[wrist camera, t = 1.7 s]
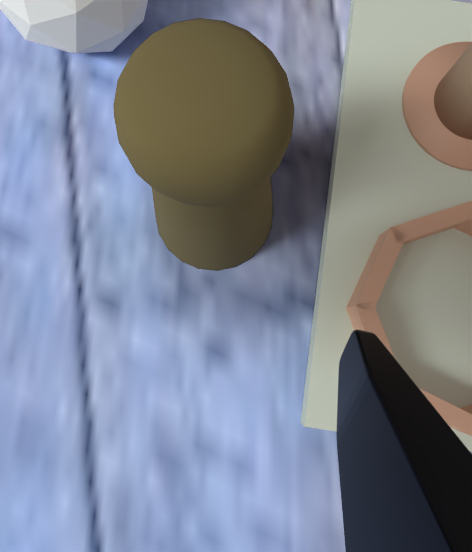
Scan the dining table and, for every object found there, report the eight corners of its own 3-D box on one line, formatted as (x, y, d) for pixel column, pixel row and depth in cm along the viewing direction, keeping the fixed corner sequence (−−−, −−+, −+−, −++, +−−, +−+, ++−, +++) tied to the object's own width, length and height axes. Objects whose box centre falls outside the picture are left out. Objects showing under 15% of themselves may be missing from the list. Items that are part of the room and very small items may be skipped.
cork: (269, 154, 22) (310, -27, 11) (276, 267, 21) (330, 189, 10) (154, 159, 22) (81, -20, 11) (156, 273, 21) (81, 200, 10)
